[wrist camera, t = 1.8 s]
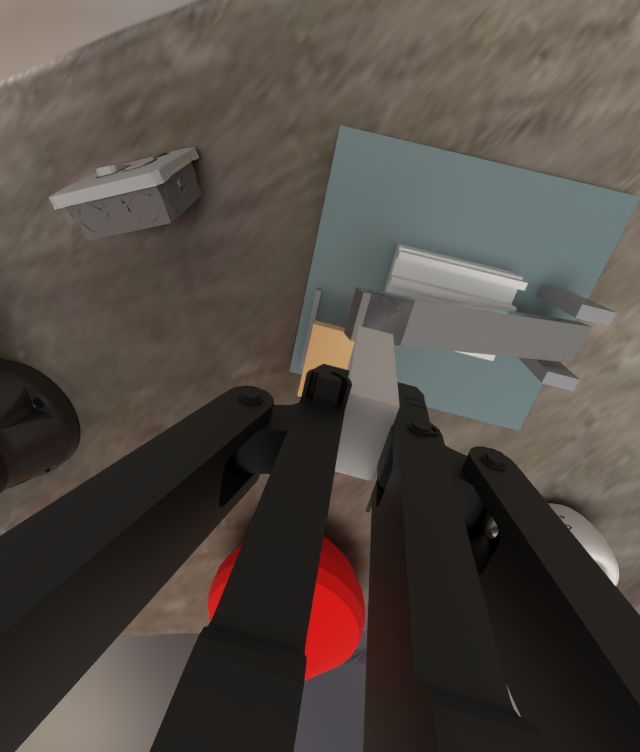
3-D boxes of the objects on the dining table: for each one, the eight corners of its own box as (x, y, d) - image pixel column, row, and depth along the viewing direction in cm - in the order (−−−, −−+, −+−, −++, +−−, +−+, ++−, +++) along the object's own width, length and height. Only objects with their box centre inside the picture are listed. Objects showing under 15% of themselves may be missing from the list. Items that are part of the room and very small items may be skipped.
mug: (584, 487, 43) (625, 543, 36) (588, 544, 46) (627, 607, 39) (470, 502, 46) (487, 558, 39) (481, 556, 49) (499, 616, 42)
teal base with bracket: (292, 365, 42) (271, 405, 34) (341, 128, 32) (329, 103, 24) (514, 423, 41) (548, 478, 33) (629, 197, 32) (717, 195, 23)
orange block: (311, 362, 40) (297, 395, 33) (325, 301, 37) (313, 323, 30) (349, 372, 39) (343, 408, 33) (366, 311, 37) (364, 336, 30)
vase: (263, 479, 48) (199, 633, 31) (392, 542, 50) (400, 724, 32) (214, 566, 56) (140, 730, 39) (327, 619, 57) (305, 800, 40)
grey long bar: (343, 333, 25) (350, 340, 24) (356, 286, 24) (363, 292, 23) (559, 356, 32) (571, 362, 31) (577, 321, 30) (591, 326, 29)
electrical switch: (199, 145, 34) (146, 142, 26) (218, 208, 37) (174, 223, 29) (106, 168, 36) (31, 173, 28) (130, 227, 39) (66, 246, 31)
